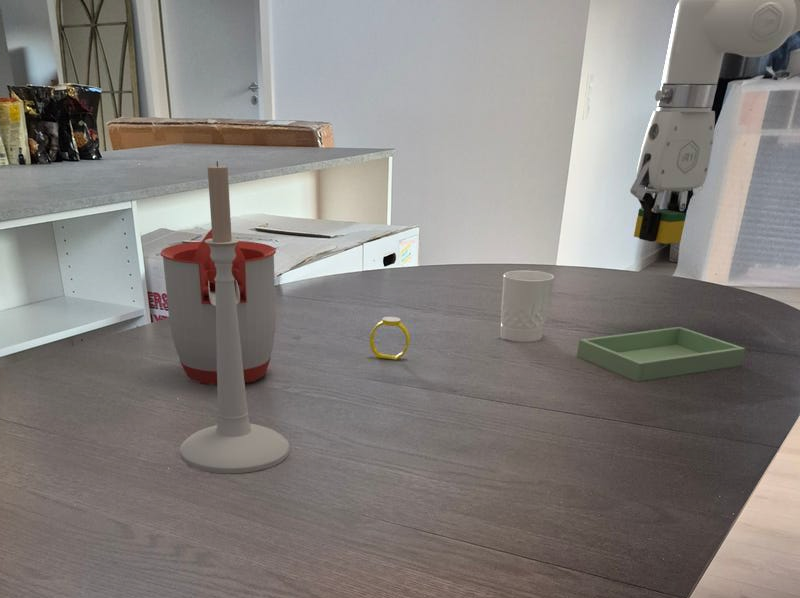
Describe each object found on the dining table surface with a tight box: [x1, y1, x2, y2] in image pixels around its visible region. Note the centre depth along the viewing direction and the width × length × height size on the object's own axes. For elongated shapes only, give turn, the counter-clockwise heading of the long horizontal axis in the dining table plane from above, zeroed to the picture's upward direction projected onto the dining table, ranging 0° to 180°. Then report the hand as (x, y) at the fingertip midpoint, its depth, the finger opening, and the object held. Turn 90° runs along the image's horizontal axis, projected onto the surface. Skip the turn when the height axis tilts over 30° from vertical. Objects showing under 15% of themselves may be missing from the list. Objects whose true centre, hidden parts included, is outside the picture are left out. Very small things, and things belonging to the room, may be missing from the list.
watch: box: [369, 316, 410, 361], centre depth 130 cm, size 6×3×6 cm, turn 77°
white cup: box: [499, 269, 555, 343], centre depth 137 cm, size 8×8×10 cm
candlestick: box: [179, 160, 290, 474], centre depth 91 cm, size 13×13×30 cm
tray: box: [576, 326, 746, 383], centre depth 128 cm, size 20×14×3 cm
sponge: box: [633, 208, 687, 245], centre depth 131 cm, size 3×7×4 cm, turn 24°
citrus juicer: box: [160, 228, 277, 386], centre depth 118 cm, size 16×17×20 cm
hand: (656, 238), depth 132 cm, fingers closed on sponge, 3 cm apart
